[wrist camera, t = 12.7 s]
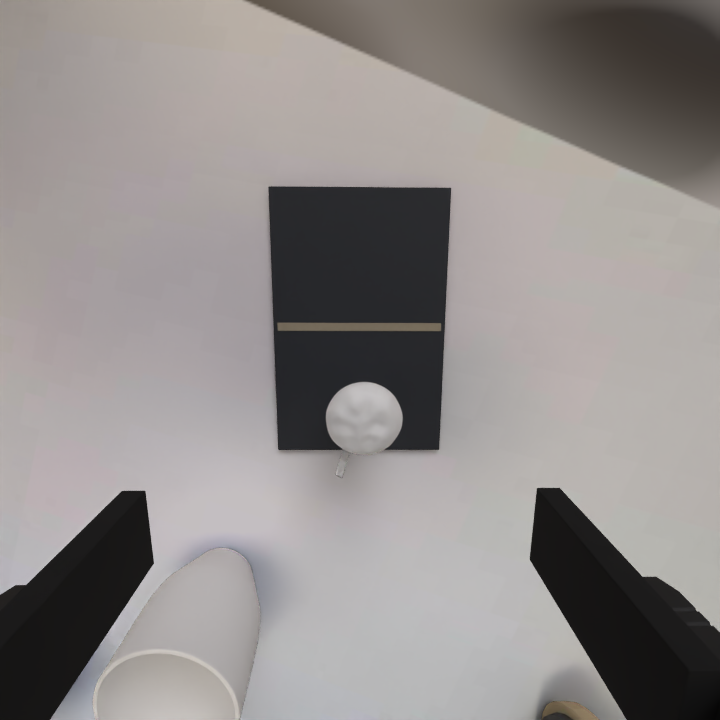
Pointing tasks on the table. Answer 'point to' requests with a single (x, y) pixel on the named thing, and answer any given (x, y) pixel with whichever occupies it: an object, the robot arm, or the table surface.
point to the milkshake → (362, 414)
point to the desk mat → (358, 304)
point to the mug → (187, 647)
